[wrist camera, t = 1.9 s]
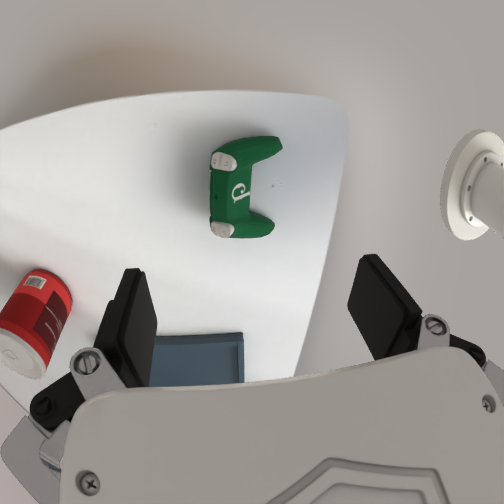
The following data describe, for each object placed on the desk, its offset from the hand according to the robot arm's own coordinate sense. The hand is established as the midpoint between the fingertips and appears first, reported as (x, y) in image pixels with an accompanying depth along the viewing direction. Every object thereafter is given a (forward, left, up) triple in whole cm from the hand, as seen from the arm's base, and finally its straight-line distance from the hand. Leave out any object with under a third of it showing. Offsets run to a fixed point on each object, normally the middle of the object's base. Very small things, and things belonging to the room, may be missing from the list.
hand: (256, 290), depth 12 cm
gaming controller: (-1, 0, -15) cm, 15 cm away
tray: (+9, +28, -15) cm, 33 cm away
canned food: (+24, +12, -15) cm, 31 cm away
